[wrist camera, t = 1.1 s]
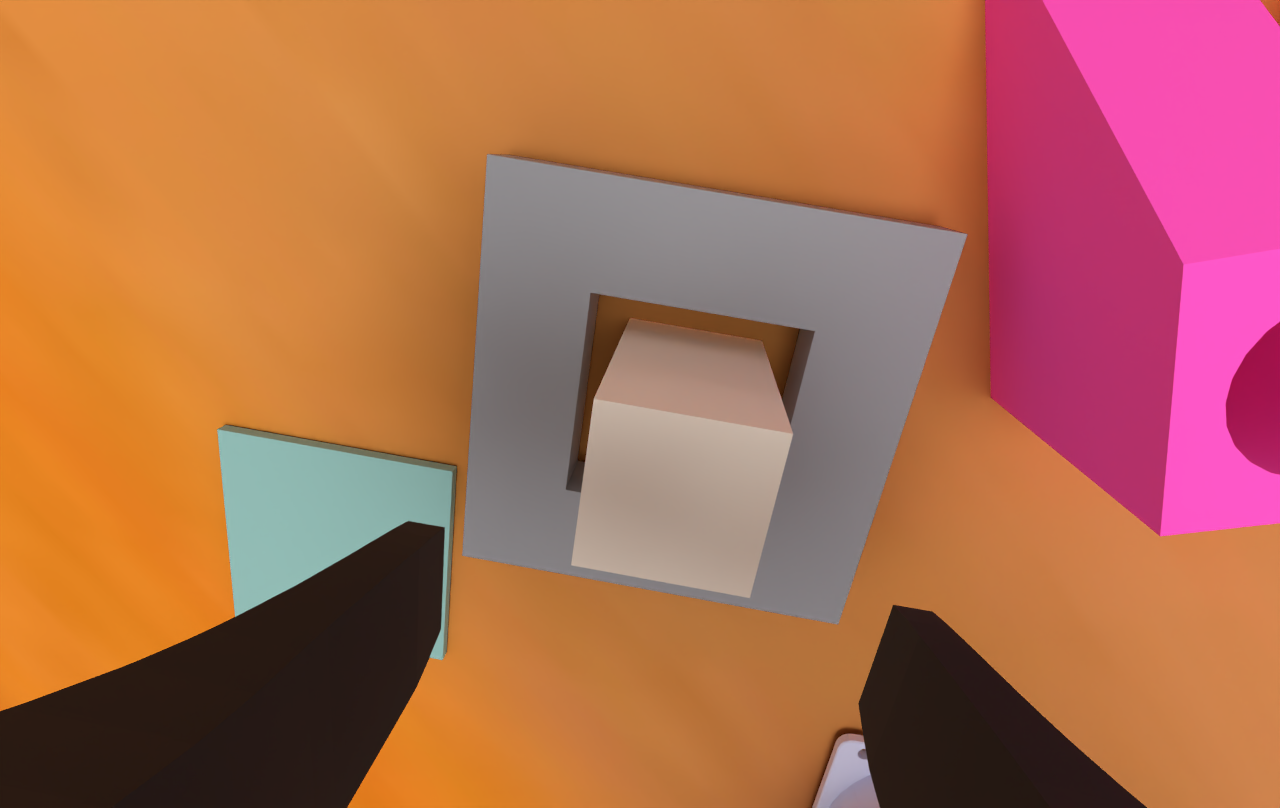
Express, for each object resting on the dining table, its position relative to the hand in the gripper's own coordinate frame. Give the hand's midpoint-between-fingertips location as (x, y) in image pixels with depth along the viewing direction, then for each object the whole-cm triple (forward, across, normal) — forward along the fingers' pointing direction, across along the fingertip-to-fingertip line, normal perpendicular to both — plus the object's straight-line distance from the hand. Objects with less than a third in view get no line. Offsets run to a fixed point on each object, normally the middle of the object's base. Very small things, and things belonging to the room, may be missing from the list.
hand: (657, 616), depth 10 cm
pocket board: (+10, 0, 0) cm, 10 cm away
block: (+10, 0, 0) cm, 11 cm away
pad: (+10, +11, +8) cm, 17 cm away
